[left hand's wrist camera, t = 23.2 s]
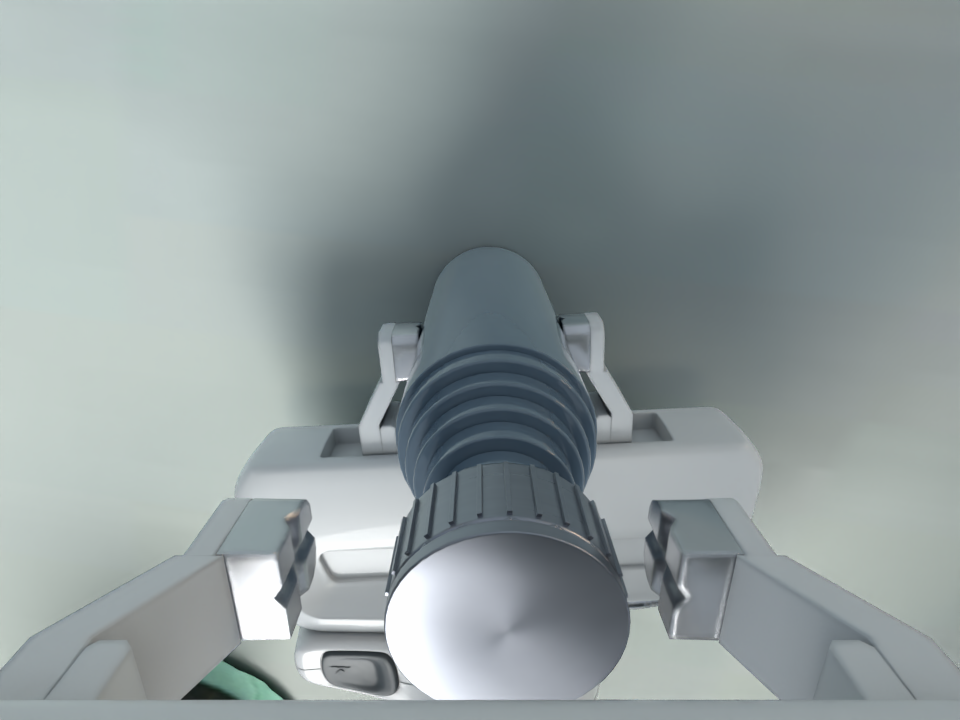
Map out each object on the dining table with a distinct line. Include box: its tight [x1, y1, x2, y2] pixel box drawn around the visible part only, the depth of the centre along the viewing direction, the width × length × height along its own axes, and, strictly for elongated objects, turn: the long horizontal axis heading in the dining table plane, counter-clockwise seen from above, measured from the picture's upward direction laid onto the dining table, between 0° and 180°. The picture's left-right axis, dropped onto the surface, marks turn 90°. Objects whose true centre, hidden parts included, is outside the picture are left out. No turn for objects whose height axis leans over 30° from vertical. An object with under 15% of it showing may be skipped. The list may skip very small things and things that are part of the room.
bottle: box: [395, 247, 597, 499], centre depth 18 cm, size 5×5×18 cm
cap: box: [384, 462, 630, 700], centre depth 10 cm, size 4×4×2 cm
